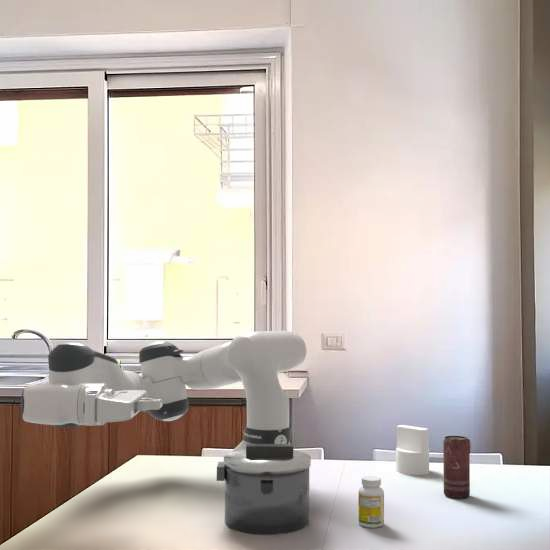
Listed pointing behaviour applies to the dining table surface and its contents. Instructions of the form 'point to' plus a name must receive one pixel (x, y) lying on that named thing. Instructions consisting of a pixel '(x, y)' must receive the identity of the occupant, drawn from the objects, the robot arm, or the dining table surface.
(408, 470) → the white stacked block
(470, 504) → the dining table surface
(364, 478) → the supplement bottle
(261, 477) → the cooker pot
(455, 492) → the can
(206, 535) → the dining table surface
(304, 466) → the cooker lid
